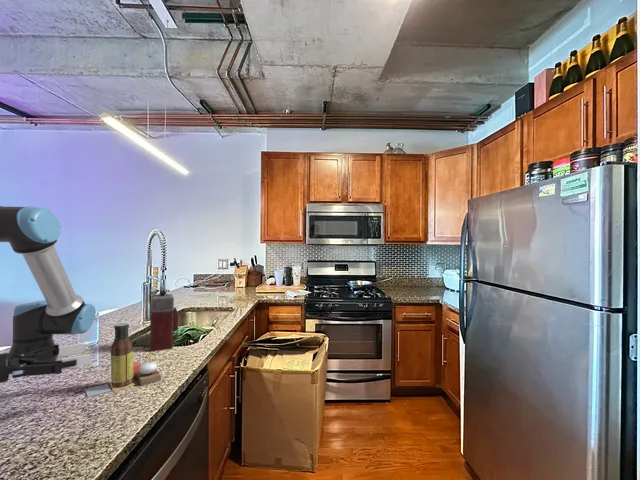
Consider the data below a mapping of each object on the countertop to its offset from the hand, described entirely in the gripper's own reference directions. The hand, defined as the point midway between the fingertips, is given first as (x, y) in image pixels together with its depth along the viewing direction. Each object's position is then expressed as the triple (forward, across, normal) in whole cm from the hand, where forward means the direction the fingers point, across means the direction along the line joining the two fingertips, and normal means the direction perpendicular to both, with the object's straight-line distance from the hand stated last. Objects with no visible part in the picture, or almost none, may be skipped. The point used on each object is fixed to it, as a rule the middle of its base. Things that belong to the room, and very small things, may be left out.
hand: (87, 352), depth 97 cm
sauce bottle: (+9, 0, -13) cm, 16 cm away
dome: (+17, +1, -10) cm, 20 cm away
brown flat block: (+17, +1, -13) cm, 21 cm away
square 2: (+10, 0, -13) cm, 16 cm away
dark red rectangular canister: (+32, -32, -13) cm, 47 cm away
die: (+14, -5, -13) cm, 20 cm away
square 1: (+3, 0, -13) cm, 13 cm away
